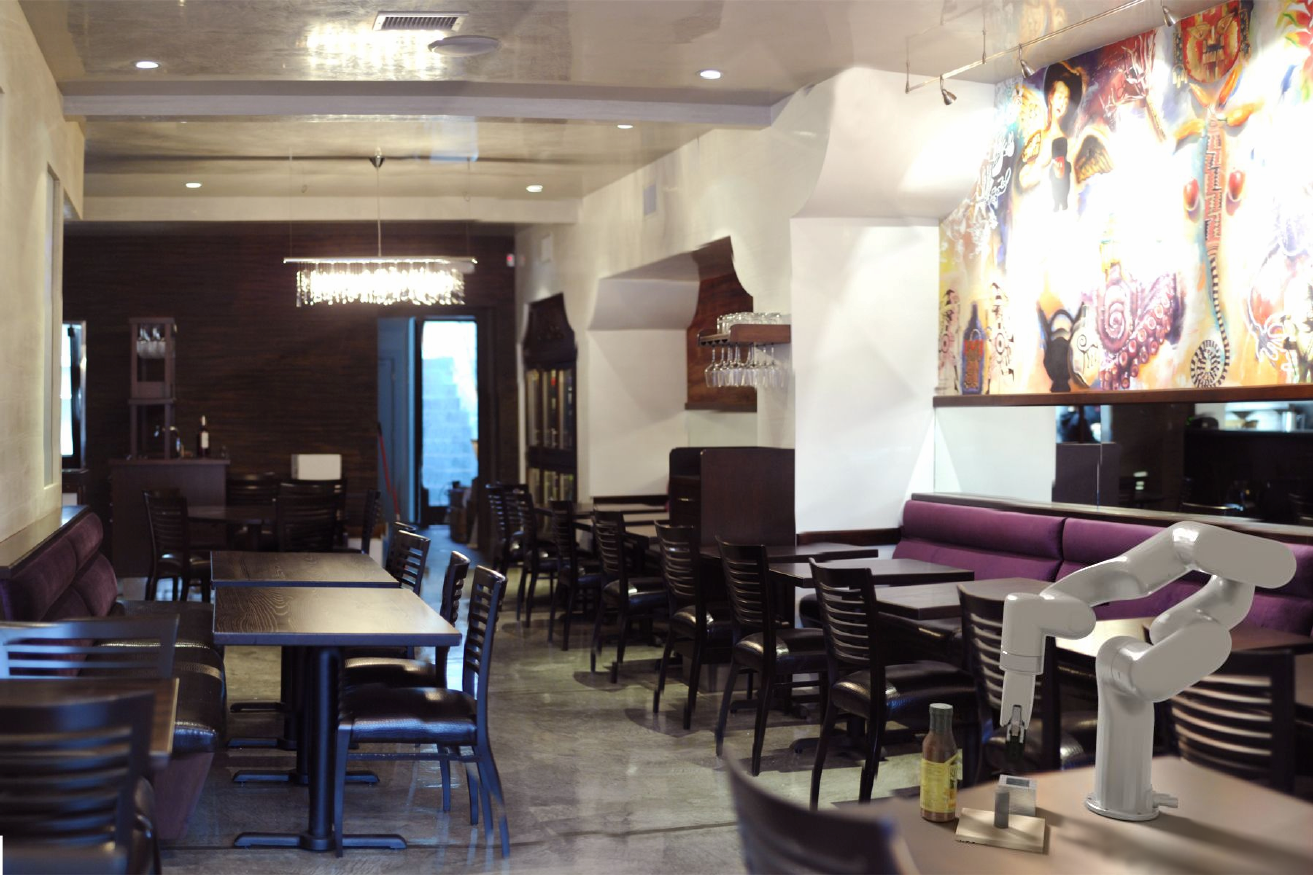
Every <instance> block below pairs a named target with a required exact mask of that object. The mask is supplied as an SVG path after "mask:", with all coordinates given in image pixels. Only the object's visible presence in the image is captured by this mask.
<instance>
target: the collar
mask: <svg viewBox="0 0 1313 875" xmlns="http://www.w3.org/2000/svg"><path fill="white" fill-rule="evenodd" d="M1037 781H1038V779H1035V778H1031V777H1022V776H1016V775H1015V776H1014V775H1006V774H1000V775H999V780H998V786H997V790H1007V791H1009V792H1010V802H1009V814H1013V815H1021V816H1028V817H1035V816H1036V805H1037V786H1038V785H1037V784H1038V782H1037ZM1035 818H1036V817H1035Z"/></svg>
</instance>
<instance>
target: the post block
mask: <svg viewBox="0 0 1313 875" xmlns="http://www.w3.org/2000/svg"><path fill="white" fill-rule="evenodd" d="M1009 802H1010V792H1009V791H1007V790H998V789H995V794H994V811H992V810H982V809H977V808H968V807H962V809H961V812H960V817H959V820H958V824H957V826H956V832H955V837H954V841H960V840H961V841H960V842H966V841H969V842H968V843H972V842H975V843H974V844H980V845H985V844H986V846H994V847H999V848H1006V849H1014V850H1021V851H1027V852H1034V853H1040V854H1043V853H1044V840H1045V839H1044V837H1045V827H1046V826H1045V824H1046V819H1045V818H1041V817H1028V816H1021V815H1013V814H1009ZM966 843H967V842H966Z"/></svg>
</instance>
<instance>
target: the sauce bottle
mask: <svg viewBox="0 0 1313 875" xmlns="http://www.w3.org/2000/svg"><path fill="white" fill-rule="evenodd" d="M928 712H929V715H930V718H929V719H930V720H929V731H928V733H927V735H926V736H925V737H924V740H923V741H922V750H921V751H922V756H921V764H920V765H921V766H920V768H921V770H920V788H919V789H920V790H919V791H920V792H919V793H920V796H919V797H920V798H919V806H920V809H919V810H920V816H921V817H922V818H923V819H925V820H927V821H930V822H936V823H938V822H939V823H945V822H947V823H948V822H951V821H953V820H954V819H955V817H956V810H957V795H958V794H957V793H958V792H957V791H958V788H957V786H958V761H959V751H958V747H957V745H956V741H955V738H954V735H953V726H952V721H953V719H952V718H953V715H954V707H953V705H950V704H947V703H942V702H941V703H940V702H939V703H931V704H929V710H928Z"/></svg>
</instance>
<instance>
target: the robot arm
mask: <svg viewBox="0 0 1313 875" xmlns="http://www.w3.org/2000/svg"><path fill="white" fill-rule="evenodd" d="M1193 570H1194V571H1196V572H1201V573H1204V574H1208V575H1211V577H1210V579H1209V581H1208V582H1207V584H1205V585H1204V586H1203V587H1202V588H1200V589H1199V590H1198V591H1196V592H1194V594H1192V595H1190V596H1189V597H1187V598H1184V599H1183V600H1182V601H1180V602H1179V603H1177V604H1175V605H1174V606H1172V607H1170V608H1168V609H1167V610H1165V611H1164V612H1162V613H1160V615H1158V616H1156V618H1155V619H1154V620H1153V621H1152V622H1151V624H1150V627H1149V638H1150V642H1151V644H1150V643H1148V642H1146V641H1143V640H1141V639H1139V638H1137V637H1134V636H1129V635H1116V636H1112V637H1110V638H1108V639H1107V640H1105V641H1104V642H1103V643H1102V644H1101V646H1100V647H1099V649H1098V651H1097V654H1096V658H1095V674H1096V685H1097V696H1098V702H1097V704H1098V707H1097V709H1098V710H1097V724H1096V725H1097V726H1096V745H1095V746H1096V749H1095V750H1096V751H1095V768H1094V770H1095V771H1094V774H1095V775H1094V792H1091V793H1088V794H1087V795H1086V796H1084V805H1085V806H1086V807H1087V808H1088V810H1090V811H1092V812H1094V813H1096V814H1099V815H1100V816H1105V817H1108V818H1113V819H1117V820H1124V821H1137V822H1138V821H1148V820H1153V819H1156V818H1157V817H1158V816H1159V814H1160V808H1159V807H1166V808H1168V809H1169V808H1171V809H1178V807H1179V798H1178V797H1174V796H1170V795H1171V794H1170V793H1164V792H1156V790H1154V789H1153V785H1152V769H1153V768H1152V765H1153V748H1154V746H1153V745H1154V727H1155V709H1154V708H1155V707H1154V703H1160V702H1163V701H1167V700H1168V699H1171V698H1173V697H1175V696H1176V695H1178V694H1180V693H1181V692H1184V691H1185V690H1186V689H1188V688H1190V687H1192V686H1193V685H1195V684H1197V683H1198V682H1199V681H1201V680H1203V679H1204V678H1206V677H1208V676H1210V674H1213V673H1214V672H1215V671H1217V670H1218V669H1220V668H1221V666H1222V665H1223V664H1225V663H1226V661H1227V660H1228V657H1229V655H1230V654H1231V651H1232V645H1233V644H1232V643H1233V640H1232V636H1231V633H1230V630H1231V629H1233V628H1234V627H1236V626H1237V625H1238V624H1240V623H1241V622H1242V621H1243V620H1244V619H1245V618H1246V617H1247V615H1248V613H1249V612H1250V610H1251V607H1252V604H1253V600H1254V595H1255V590H1256V589H1255V588H1256V587H1261V588H1263V589H1264V588H1266V589H1276V588H1280V587H1282V586H1284V585H1286V584H1288V583H1289V582H1291V580H1292V579H1293V577H1294V576H1295V574H1296V571H1297V559H1296V556H1295V555H1294V552H1293V550H1292V549H1290V547H1288V545H1286V544H1284V543H1283V542H1280V541H1278V540H1273V539H1269V538H1264V537H1260V536H1257V535H1256V536H1255V535H1251V534H1246V533H1242V532H1237V531H1233V530H1230V529H1228V528H1227V529H1226V528H1223V527H1219V526H1215V525H1213V524H1212V525H1211V524H1206V523H1202V522H1197V521H1193V520H1183V521H1178V522H1175V523H1174V524H1172V525H1170V526H1168V527H1166V528H1165V529H1163V530H1161V531H1160V532H1157V533H1156V534H1154V535H1153V536H1151V537H1149V538H1148V539H1146V540H1144V541H1143V542H1141V543H1139V544H1138V545H1136V546H1134V547H1132V548H1131V549H1129V550H1128V551H1126V552H1124V553H1122V554H1120V555H1118V556H1116V557H1113V558H1110V559H1106V560H1104V561H1101V562H1099V563H1095V564H1093V565H1090V566H1087V567H1085V568H1081V569H1079V570H1077V571H1073V572H1072V573H1070V574H1067V575H1066V576H1064V577H1062V578H1061V579H1059V580H1057V581H1056V582H1054V583H1052V584H1051V585H1048V587H1046V588H1045V589H1043V590H1042V591H1041V592H1039V594H1036V593H1031V592H1030V593H1029V592H1011V593H1009V594H1007V595H1006V597H1005V598H1004V605H1003V616H1002V617H1003V618H1002V632H1001V640H1000V641H1001V643H1000V656H999V657H1000V658H999V669H1000V670H1002V671H1004V676H1003V683H1002V684H1003V686H1002V694H1001V696H1002V697H1001V708H1000V720H999V724H1000V726H1001V727H1004V726H1007V732H1006V739H1004V751H1003V752H1004V754H1003V762H1004V763H1005V764H1006V763H1007V764H1011V765H1012V764H1013V765H1018V766H1019V765H1020V766H1022V765H1023V763H1024V752H1025V749H1026V737H1027V729H1028V728H1029V725H1030V724H1029V723H1030V721H1031V716H1032V709H1033V704H1034V696H1035V686H1036V685H1035V684H1036V676H1037V675H1038V676H1039V675H1040V676H1041V675H1043V673H1044V663H1045V662H1044V661H1045V660H1044V659H1045V652H1046V651H1045V649H1046V638H1047V636H1048V637H1052V638H1053V637H1054V638H1059V639H1063V640H1067V641H1068V640H1071V641H1077V640H1078V641H1079V640H1081V639H1084V638H1087V637H1088V636H1090V635H1091V634H1092V632H1093V631H1094V630H1095V627H1096V625H1097V624H1096V623H1097V617H1096V613H1095V611H1094V609H1093V607H1095V606H1098V605H1101V604H1104V603H1109V602H1114V601H1126V600H1127V601H1129V600H1137V599H1142V598H1146V597H1149V596H1151V595H1152V594H1154V593H1155V592H1157V591H1159V590H1160V589H1162V588H1164V587H1165V586H1167V585H1168V584H1170V583H1172V582H1174V581H1176V580H1177V579H1179V578H1181V577H1183V576H1184V575H1186V574H1188V573H1189V572H1191V571H1193Z"/></svg>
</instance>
